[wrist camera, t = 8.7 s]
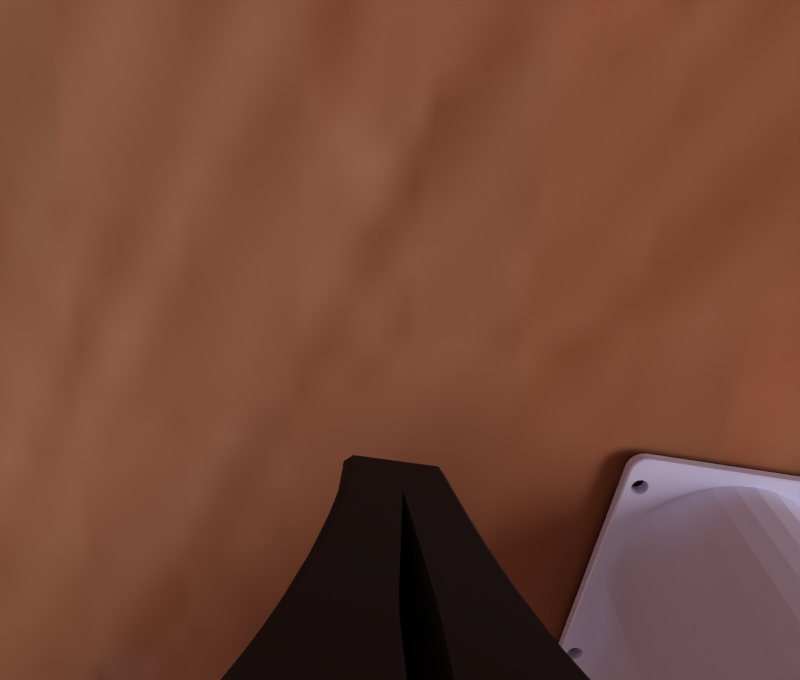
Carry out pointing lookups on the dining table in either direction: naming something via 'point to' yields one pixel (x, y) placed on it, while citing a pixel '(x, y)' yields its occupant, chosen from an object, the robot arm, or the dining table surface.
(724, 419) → the dining table surface
